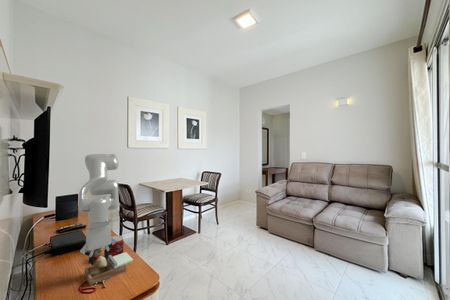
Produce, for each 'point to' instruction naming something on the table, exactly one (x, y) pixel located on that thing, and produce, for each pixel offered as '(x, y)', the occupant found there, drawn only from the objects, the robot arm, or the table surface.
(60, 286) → the table surface
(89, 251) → the robot arm
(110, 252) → the canned food
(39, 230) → the table surface
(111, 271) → the compartment box
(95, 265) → the chocolate bunny
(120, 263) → the lid
